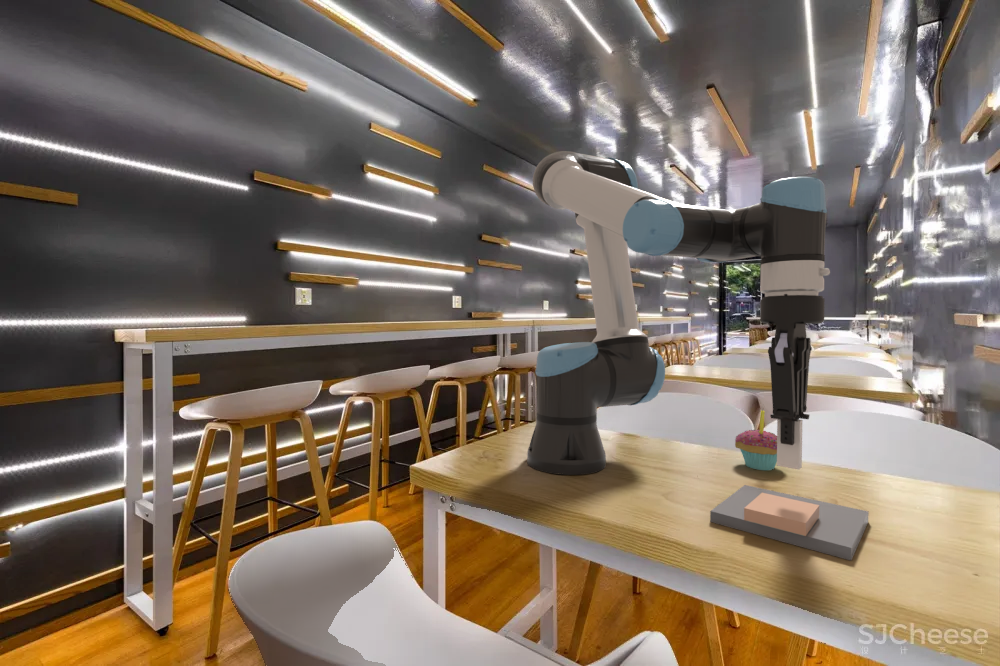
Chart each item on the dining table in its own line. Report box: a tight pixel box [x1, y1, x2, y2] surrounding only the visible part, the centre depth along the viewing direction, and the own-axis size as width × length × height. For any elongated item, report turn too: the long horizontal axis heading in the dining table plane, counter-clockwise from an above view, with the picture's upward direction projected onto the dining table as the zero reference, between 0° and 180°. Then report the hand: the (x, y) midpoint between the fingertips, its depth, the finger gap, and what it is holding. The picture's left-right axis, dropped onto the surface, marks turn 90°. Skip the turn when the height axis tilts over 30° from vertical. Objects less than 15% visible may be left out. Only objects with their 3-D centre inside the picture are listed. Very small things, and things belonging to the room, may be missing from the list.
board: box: [709, 484, 869, 561], centre depth 67 cm, size 16×15×2 cm
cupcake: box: [734, 406, 777, 471], centre depth 93 cm, size 9×8×12 cm
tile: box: [744, 493, 819, 536], centre depth 64 cm, size 7×2×8 cm
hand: (789, 466), depth 67 cm, fingers closed
